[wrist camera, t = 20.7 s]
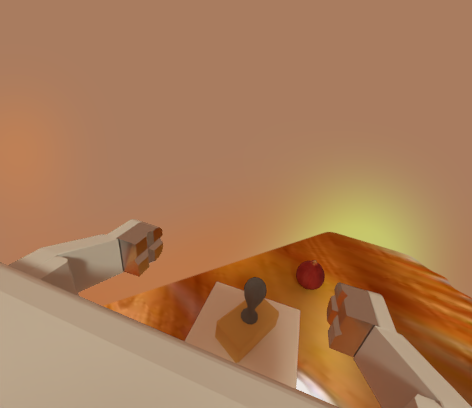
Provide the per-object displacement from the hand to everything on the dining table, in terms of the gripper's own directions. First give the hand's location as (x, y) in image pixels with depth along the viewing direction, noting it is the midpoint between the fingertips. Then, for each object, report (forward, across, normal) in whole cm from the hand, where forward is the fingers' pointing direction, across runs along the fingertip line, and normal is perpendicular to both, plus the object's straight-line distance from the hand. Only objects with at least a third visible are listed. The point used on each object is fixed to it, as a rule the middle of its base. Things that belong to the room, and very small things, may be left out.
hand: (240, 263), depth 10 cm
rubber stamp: (+17, 0, +30) cm, 34 cm away
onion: (+32, -10, +30) cm, 45 cm away
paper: (+17, 0, +30) cm, 35 cm away
